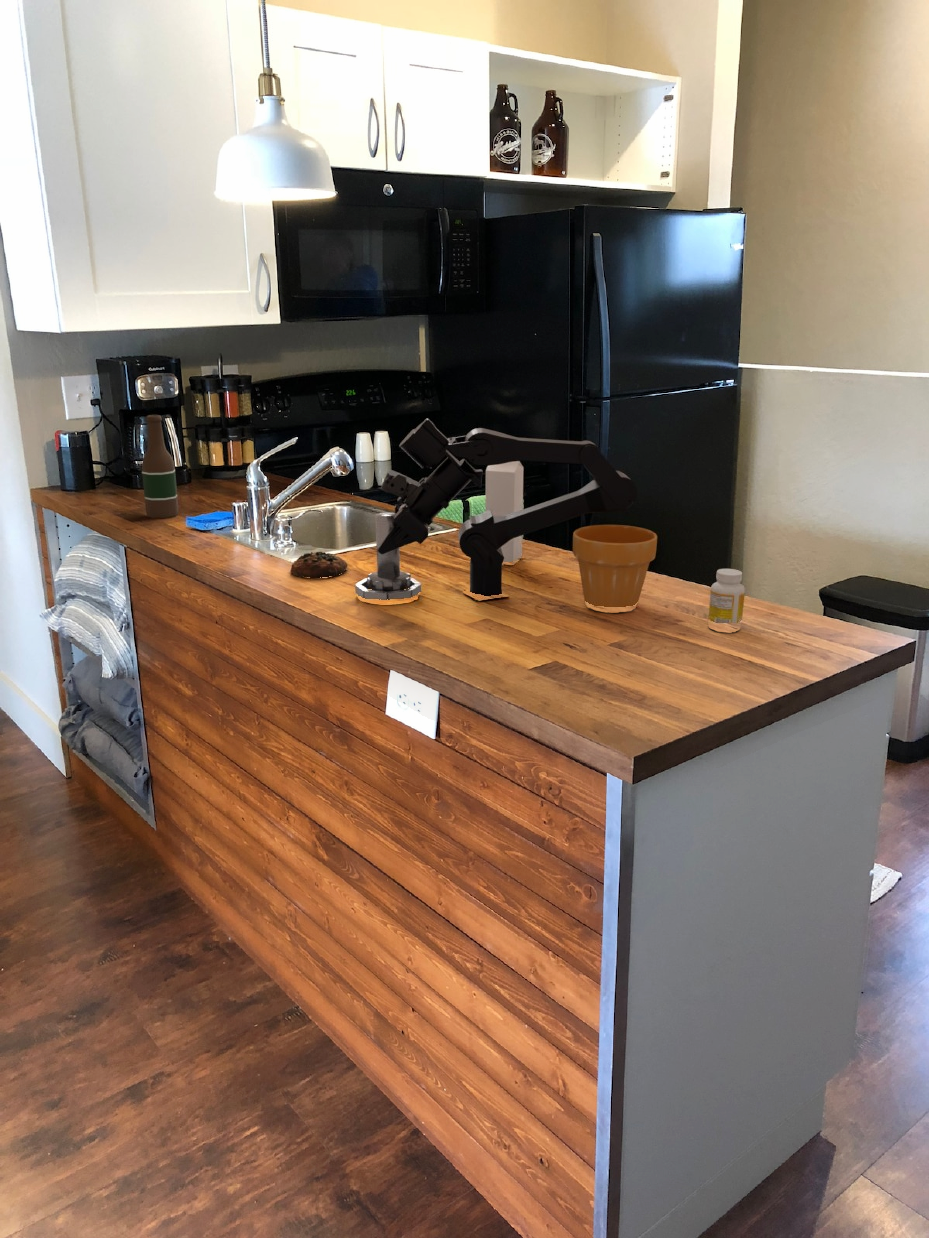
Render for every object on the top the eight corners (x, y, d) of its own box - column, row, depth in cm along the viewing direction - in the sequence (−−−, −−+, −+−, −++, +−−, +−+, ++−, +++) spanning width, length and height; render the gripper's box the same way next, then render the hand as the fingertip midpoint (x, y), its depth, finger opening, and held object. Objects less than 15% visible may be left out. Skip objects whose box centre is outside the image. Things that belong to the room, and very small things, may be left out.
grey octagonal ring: (429, 600, 179) (429, 588, 178) (369, 608, 174) (369, 596, 173) (405, 584, 188) (405, 573, 187) (348, 592, 184) (348, 579, 183)
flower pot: (656, 598, 180) (661, 527, 176) (648, 622, 167) (653, 546, 163) (577, 592, 184) (580, 522, 180) (564, 615, 171) (566, 540, 167)
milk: (513, 566, 201) (515, 456, 194) (484, 563, 203) (485, 454, 196) (521, 559, 206) (524, 451, 199) (493, 556, 208) (495, 449, 201)
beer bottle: (139, 517, 243) (129, 416, 236) (157, 511, 250) (148, 413, 243) (167, 519, 241) (158, 418, 234) (185, 513, 248) (177, 414, 241)
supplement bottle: (718, 635, 161) (723, 577, 158) (701, 625, 166) (705, 568, 163) (748, 632, 163) (753, 574, 160) (730, 622, 167) (735, 566, 164)
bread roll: (309, 582, 189) (307, 556, 189) (280, 578, 198) (278, 552, 197) (358, 575, 196) (357, 549, 195) (329, 571, 205) (327, 546, 204)
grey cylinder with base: (417, 589, 179) (415, 517, 174) (375, 594, 176) (372, 521, 172) (402, 578, 185) (400, 508, 181) (361, 583, 182) (358, 512, 178)
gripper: (409, 446, 182) (350, 507, 185) (406, 463, 164) (341, 530, 168) (453, 489, 185) (394, 548, 188) (455, 510, 167) (390, 575, 170)
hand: (380, 549), depth 178 cm, fingers closed on grey cylinder with base, 4 cm apart
